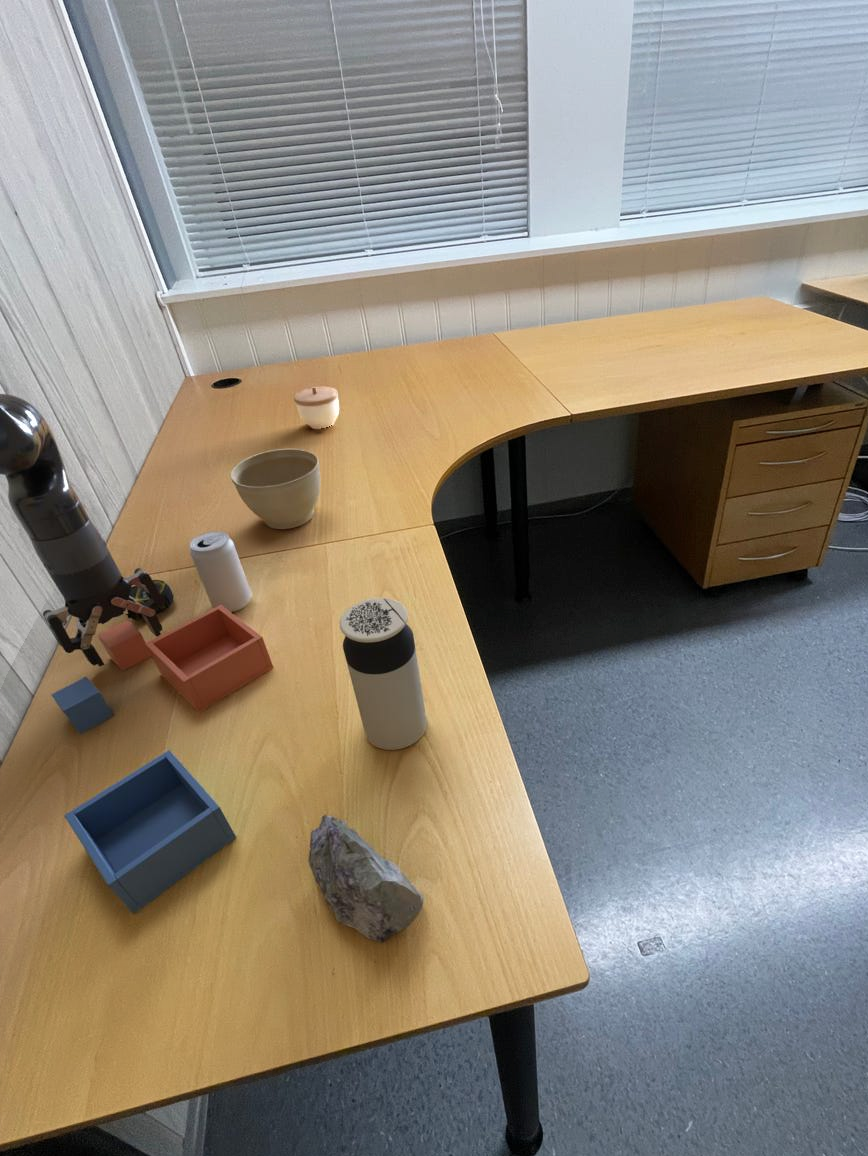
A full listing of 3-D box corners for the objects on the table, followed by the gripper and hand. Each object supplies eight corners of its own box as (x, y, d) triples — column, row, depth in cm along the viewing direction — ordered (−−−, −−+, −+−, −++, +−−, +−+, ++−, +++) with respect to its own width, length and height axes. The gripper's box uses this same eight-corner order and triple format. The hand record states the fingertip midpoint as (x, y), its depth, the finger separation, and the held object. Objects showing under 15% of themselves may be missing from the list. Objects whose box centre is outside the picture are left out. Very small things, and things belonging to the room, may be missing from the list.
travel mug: (375, 760, 76) (347, 649, 64) (358, 716, 81) (329, 607, 70) (436, 738, 78) (419, 627, 66) (415, 697, 83) (397, 588, 72)
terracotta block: (122, 671, 90) (109, 648, 88) (110, 657, 93) (96, 634, 90) (152, 655, 93) (140, 632, 90) (139, 642, 95) (127, 619, 92)
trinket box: (350, 425, 158) (342, 387, 152) (310, 436, 154) (301, 398, 148) (332, 413, 165) (325, 377, 159) (294, 424, 161) (285, 386, 155)
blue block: (80, 734, 81) (63, 711, 78) (67, 717, 84) (50, 694, 81) (114, 715, 84) (99, 691, 81) (101, 699, 86) (86, 676, 83)
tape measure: (133, 602, 104) (124, 584, 101) (176, 592, 105) (168, 573, 103) (132, 626, 99) (121, 607, 96) (177, 614, 100) (168, 596, 98)
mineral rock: (311, 843, 67) (288, 787, 61) (409, 819, 69) (396, 762, 63) (316, 963, 58) (289, 912, 51) (430, 932, 59) (418, 879, 53)
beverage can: (205, 605, 102) (179, 542, 94) (240, 587, 105) (217, 525, 98) (225, 620, 98) (199, 556, 91) (260, 601, 102) (238, 538, 94)
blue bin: (133, 914, 62) (107, 885, 59) (89, 845, 69) (63, 815, 65) (236, 837, 68) (219, 806, 65) (187, 780, 75) (169, 749, 71)
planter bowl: (292, 491, 131) (279, 442, 124) (347, 510, 124) (336, 459, 117) (230, 525, 122) (212, 473, 115) (285, 548, 114) (269, 494, 107)
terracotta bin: (199, 712, 83) (183, 681, 80) (160, 674, 90) (144, 643, 86) (273, 667, 89) (262, 636, 86) (232, 634, 96) (220, 604, 92)
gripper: (118, 525, 87) (163, 615, 98) (8, 570, 80) (70, 662, 90) (141, 542, 83) (185, 634, 94) (27, 592, 76) (89, 686, 86)
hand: (128, 648), depth 92 cm, fingers open, 8 cm apart
